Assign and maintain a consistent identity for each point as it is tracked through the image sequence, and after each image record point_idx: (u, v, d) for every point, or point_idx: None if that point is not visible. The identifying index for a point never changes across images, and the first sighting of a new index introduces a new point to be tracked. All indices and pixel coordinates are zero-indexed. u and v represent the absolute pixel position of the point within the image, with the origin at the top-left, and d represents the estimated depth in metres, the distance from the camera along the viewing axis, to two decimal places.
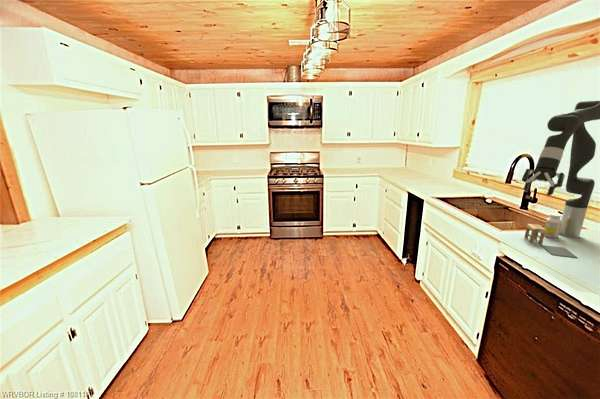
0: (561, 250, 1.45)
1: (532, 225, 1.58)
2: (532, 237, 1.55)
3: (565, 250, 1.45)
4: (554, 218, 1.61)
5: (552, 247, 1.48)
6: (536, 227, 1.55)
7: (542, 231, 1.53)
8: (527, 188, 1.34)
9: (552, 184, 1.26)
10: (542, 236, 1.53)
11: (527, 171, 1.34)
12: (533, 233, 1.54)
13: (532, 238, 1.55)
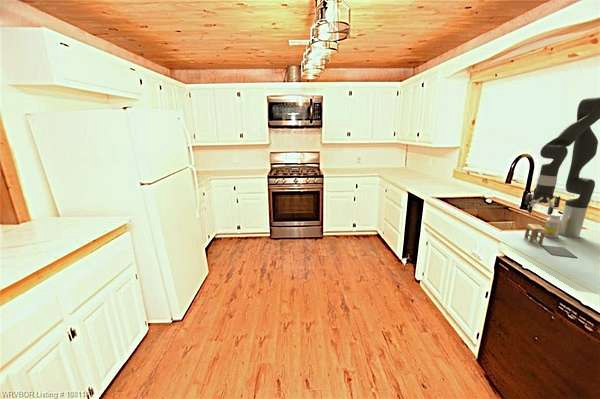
0: (561, 250, 1.45)
1: (532, 225, 1.58)
2: (532, 237, 1.55)
3: (565, 250, 1.45)
4: (554, 218, 1.61)
5: (552, 247, 1.48)
6: (536, 227, 1.55)
7: (542, 231, 1.53)
8: None
9: (552, 206, 1.51)
10: (542, 236, 1.53)
11: (530, 196, 1.53)
12: (533, 233, 1.54)
13: (532, 238, 1.55)
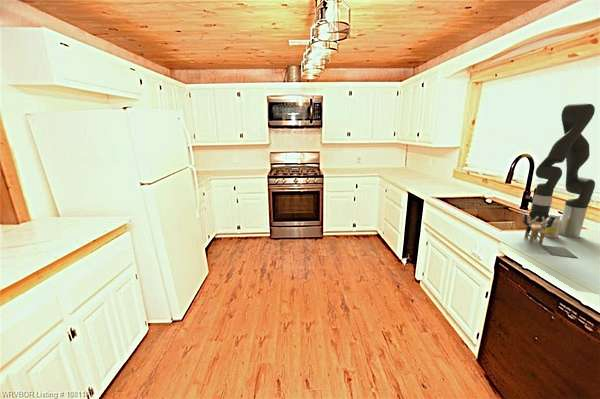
0: (561, 250, 1.45)
1: (532, 225, 1.58)
2: (532, 237, 1.55)
3: (565, 250, 1.45)
4: None
5: (552, 247, 1.48)
6: (536, 227, 1.55)
7: (542, 231, 1.53)
8: (529, 230, 1.58)
9: (545, 226, 1.54)
10: (542, 236, 1.53)
11: (526, 216, 1.56)
12: (533, 233, 1.54)
13: (532, 238, 1.55)
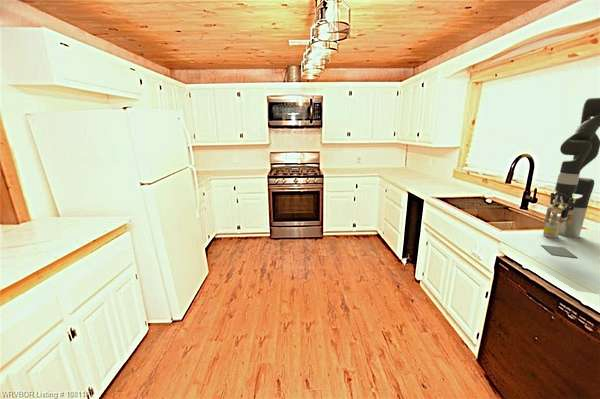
0: (561, 250, 1.45)
1: (561, 208, 1.44)
2: (546, 216, 1.47)
3: (565, 250, 1.45)
4: None
5: (552, 247, 1.48)
6: (556, 208, 1.43)
7: (553, 211, 1.42)
8: None
9: (563, 208, 1.40)
10: (553, 217, 1.42)
11: (551, 195, 1.47)
12: (547, 212, 1.46)
13: (546, 217, 1.47)
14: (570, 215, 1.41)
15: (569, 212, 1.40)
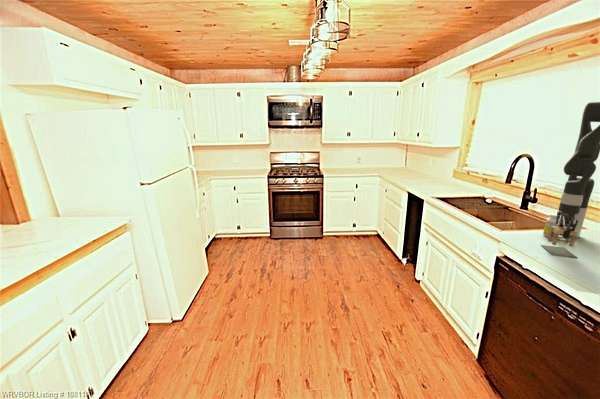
0: (561, 250, 1.45)
1: None
2: (549, 235, 1.46)
3: (565, 250, 1.45)
4: (554, 218, 1.61)
5: (552, 247, 1.48)
6: (559, 228, 1.43)
7: (555, 230, 1.42)
8: None
9: (565, 228, 1.39)
10: (554, 236, 1.42)
11: (557, 214, 1.46)
12: (550, 231, 1.46)
13: (549, 236, 1.46)
14: (573, 236, 1.39)
15: (572, 233, 1.39)
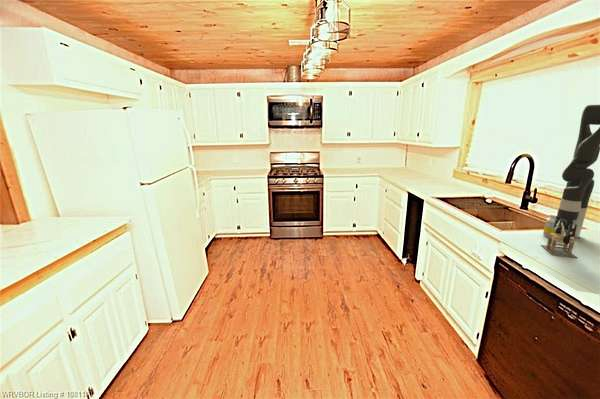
0: (561, 250, 1.45)
1: (564, 235, 1.44)
2: (547, 242, 1.47)
3: None
4: (554, 218, 1.61)
5: None
6: (557, 235, 1.44)
7: (553, 238, 1.43)
8: None
9: (565, 234, 1.38)
10: (552, 243, 1.43)
11: (556, 218, 1.47)
12: (549, 238, 1.47)
13: (547, 243, 1.47)
14: (571, 243, 1.40)
15: (570, 240, 1.40)
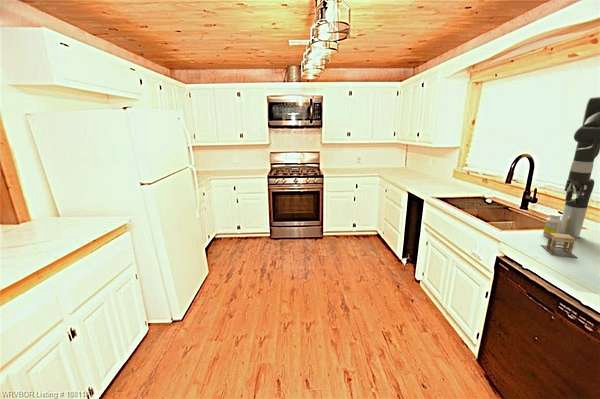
0: (561, 250, 1.45)
1: (564, 235, 1.44)
2: (547, 242, 1.47)
3: None
4: (554, 218, 1.61)
5: None
6: (557, 235, 1.44)
7: (553, 238, 1.43)
8: (567, 198, 1.46)
9: (576, 196, 1.37)
10: (552, 243, 1.43)
11: (567, 182, 1.46)
12: (549, 238, 1.47)
13: (547, 243, 1.47)
14: (571, 243, 1.40)
15: (570, 240, 1.40)
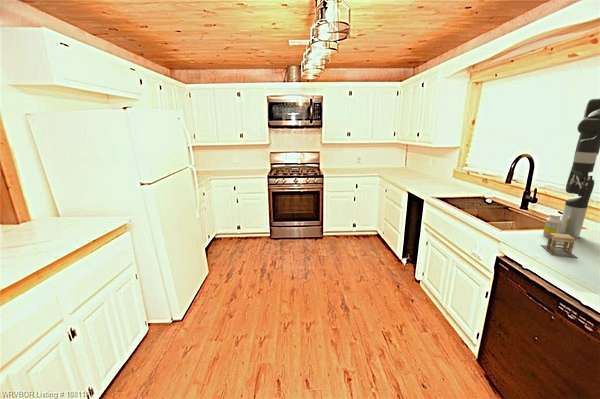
0: (561, 250, 1.45)
1: (564, 235, 1.44)
2: (547, 242, 1.47)
3: None
4: (554, 218, 1.61)
5: None
6: (557, 235, 1.44)
7: (553, 238, 1.43)
8: (571, 189, 1.47)
9: (580, 186, 1.39)
10: (552, 243, 1.43)
11: (570, 174, 1.47)
12: (549, 238, 1.47)
13: (547, 243, 1.47)
14: (571, 243, 1.40)
15: (570, 240, 1.40)
